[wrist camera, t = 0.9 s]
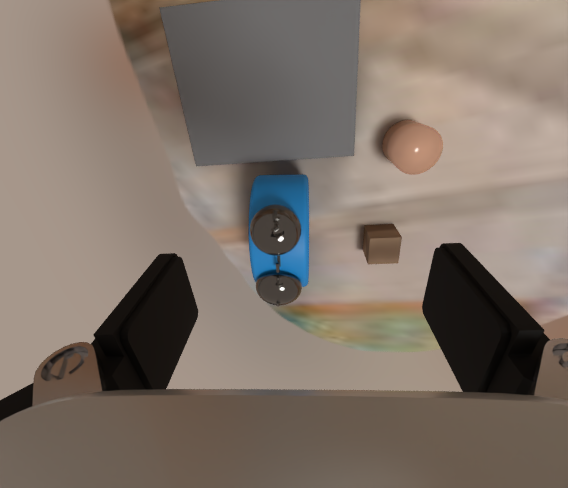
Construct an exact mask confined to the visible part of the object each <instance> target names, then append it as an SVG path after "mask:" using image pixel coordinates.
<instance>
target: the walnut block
mask: <svg viewBox="0 0 568 488" xmlns="http://www.w3.org/2000/svg"><path fill="white" fill-rule="evenodd" d="M401 239H402V237H401V235H400V234H399V232H398V230H397V229H396V227H395V226H394V224H382V225H364V239H363V252H364V254H365V257H366V260H367V263H368V264H389V263H398V260H399V253H400V246H401Z"/></svg>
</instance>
